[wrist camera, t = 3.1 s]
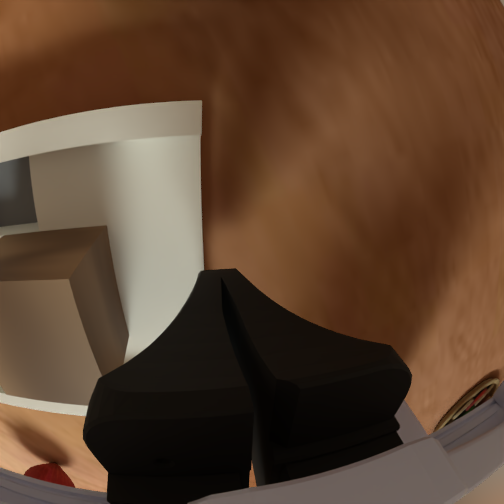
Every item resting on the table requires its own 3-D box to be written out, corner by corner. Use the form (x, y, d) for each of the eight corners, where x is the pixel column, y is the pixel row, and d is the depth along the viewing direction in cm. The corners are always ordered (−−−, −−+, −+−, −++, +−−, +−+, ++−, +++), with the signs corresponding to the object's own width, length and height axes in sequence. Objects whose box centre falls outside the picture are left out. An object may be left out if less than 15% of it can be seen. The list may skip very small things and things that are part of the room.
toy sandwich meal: (500, 358, 26) (521, 380, 22) (488, 398, 32) (502, 416, 28) (429, 419, 27) (447, 446, 23) (429, 445, 33) (442, 466, 29)
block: (106, 225, 10) (68, 279, 6) (129, 335, 12) (116, 407, 8) (3, 235, 9) (-51, 282, 5) (36, 334, 11) (6, 394, 7)
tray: (199, 107, 10) (202, 100, 7) (211, 370, 16) (217, 415, 13) (-91, 175, 7) (-125, 190, 4) (-32, 358, 12) (-50, 388, 9)
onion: (18, 445, 17) (4, 510, 10) (61, 452, 18) (51, 526, 10) (49, 472, 19) (41, 530, 12) (91, 478, 20) (88, 542, 13)
